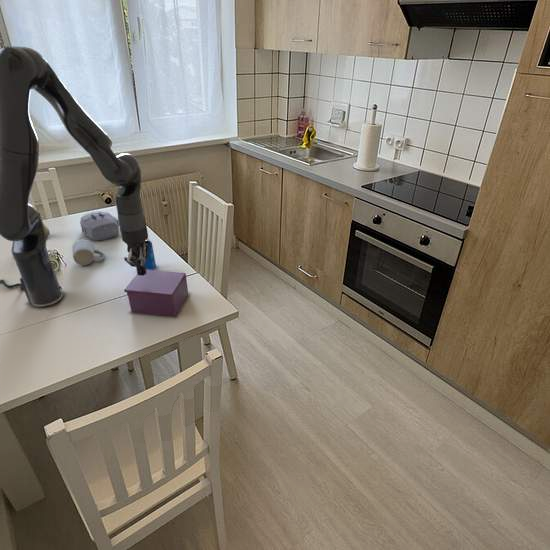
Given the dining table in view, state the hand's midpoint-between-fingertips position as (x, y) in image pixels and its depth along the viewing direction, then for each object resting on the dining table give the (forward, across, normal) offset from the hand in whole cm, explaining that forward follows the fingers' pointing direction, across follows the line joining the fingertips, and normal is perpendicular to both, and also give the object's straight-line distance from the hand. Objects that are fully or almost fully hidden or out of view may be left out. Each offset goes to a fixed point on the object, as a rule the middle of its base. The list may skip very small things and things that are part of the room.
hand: (142, 274), depth 125 cm
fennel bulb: (+7, -56, -36) cm, 67 cm away
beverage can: (+11, -19, -8) cm, 23 cm away
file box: (+10, 0, +5) cm, 12 cm away
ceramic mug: (+11, -22, -33) cm, 41 cm away
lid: (+3, 0, +4) cm, 5 cm away
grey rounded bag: (+11, -46, -42) cm, 63 cm away
